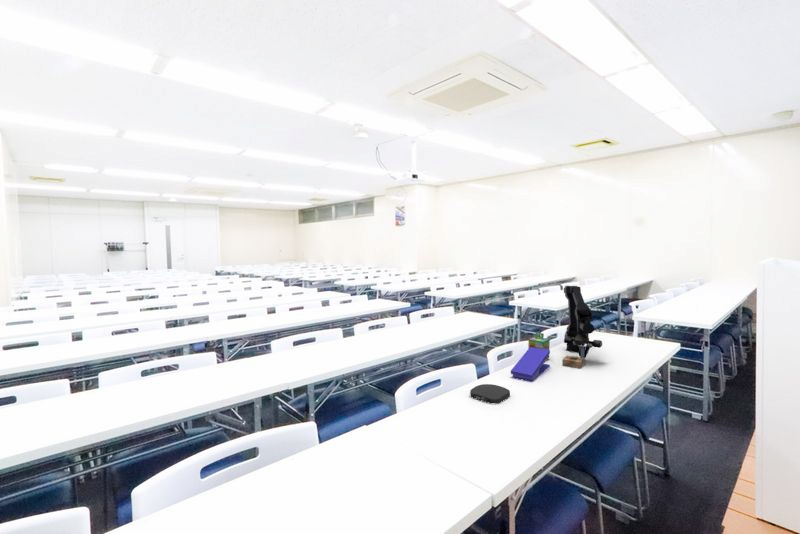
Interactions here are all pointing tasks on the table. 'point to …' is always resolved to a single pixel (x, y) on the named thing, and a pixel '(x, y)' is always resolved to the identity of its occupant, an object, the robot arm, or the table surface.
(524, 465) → the table surface
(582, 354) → the peg
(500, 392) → the media streaming box
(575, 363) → the socket
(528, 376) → the purple foot pedal
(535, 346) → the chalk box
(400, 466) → the table surface
